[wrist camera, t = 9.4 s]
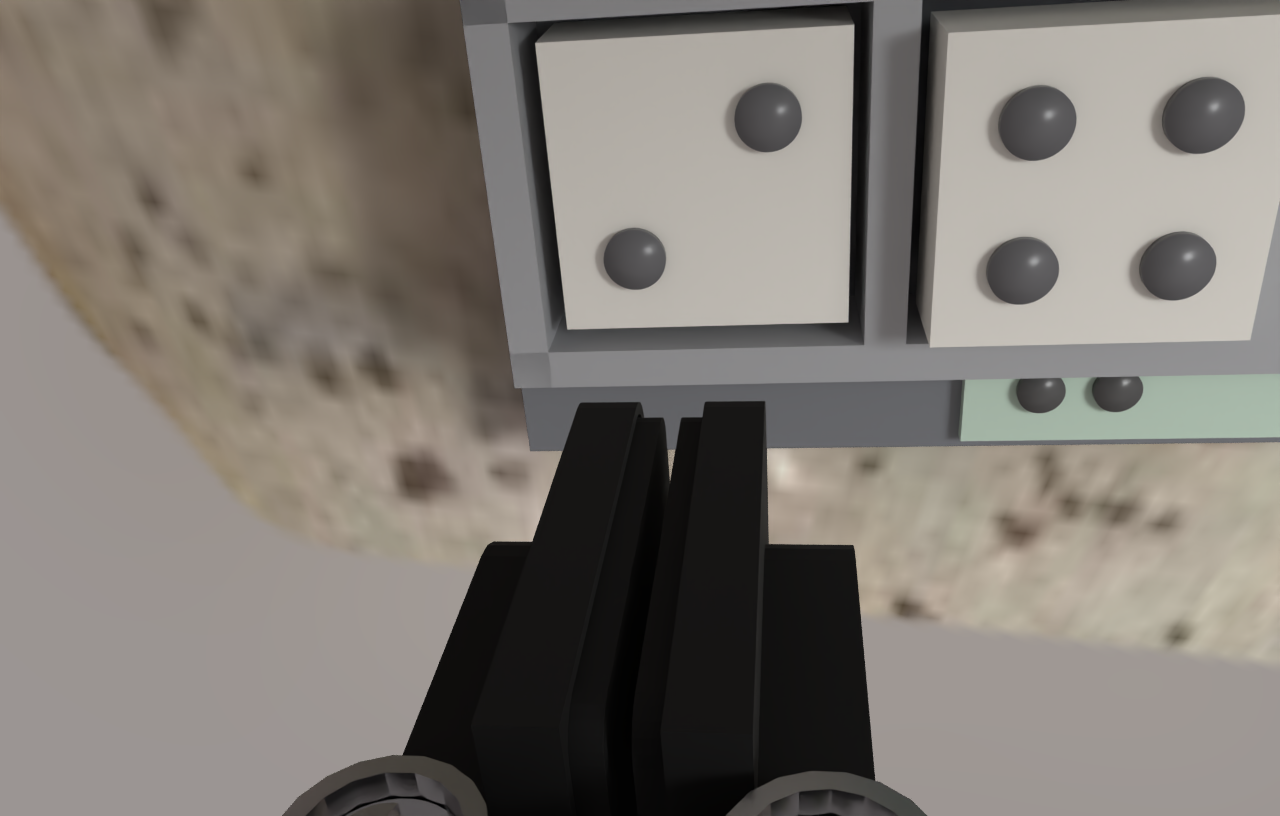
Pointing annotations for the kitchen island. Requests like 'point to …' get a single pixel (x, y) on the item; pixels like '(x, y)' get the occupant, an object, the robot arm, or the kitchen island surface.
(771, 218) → the key two dots
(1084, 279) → the key four dots
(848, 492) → the kitchen island surface
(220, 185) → the kitchen island surface
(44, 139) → the kitchen island surface
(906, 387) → the keypad
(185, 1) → the kitchen island surface
